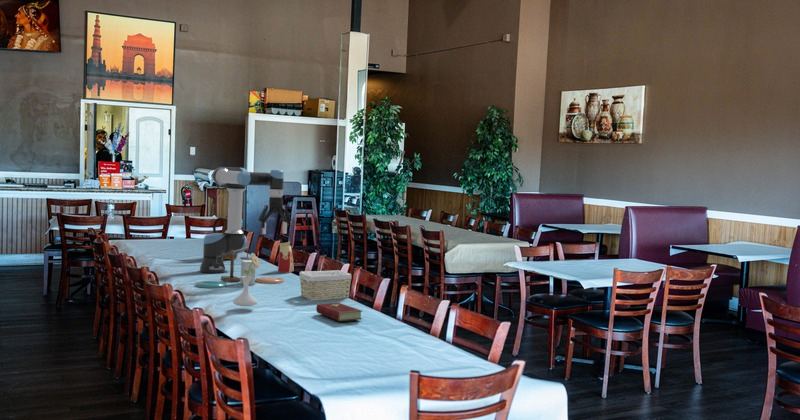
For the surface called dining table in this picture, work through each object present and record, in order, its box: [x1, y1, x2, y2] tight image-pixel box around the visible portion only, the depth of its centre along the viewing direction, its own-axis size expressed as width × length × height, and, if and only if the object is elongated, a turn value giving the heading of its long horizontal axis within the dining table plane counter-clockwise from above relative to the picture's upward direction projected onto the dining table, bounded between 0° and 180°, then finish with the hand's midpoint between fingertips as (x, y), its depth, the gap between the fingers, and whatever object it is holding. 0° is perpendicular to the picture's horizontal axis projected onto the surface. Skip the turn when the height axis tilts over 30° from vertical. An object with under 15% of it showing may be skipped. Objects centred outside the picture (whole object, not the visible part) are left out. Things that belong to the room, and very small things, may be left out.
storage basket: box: [299, 269, 352, 301], centre depth 377 cm, size 24×16×15 cm
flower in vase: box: [232, 252, 261, 307], centre depth 340 cm, size 13×11×25 cm
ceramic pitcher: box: [212, 216, 239, 261], centre depth 496 cm, size 20×20×30 cm
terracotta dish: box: [255, 276, 285, 285], centre depth 415 cm, size 16×16×1 cm
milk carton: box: [277, 241, 295, 274], centre depth 451 cm, size 9×9×20 cm
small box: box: [240, 259, 256, 286], centre depth 402 cm, size 8×6×13 cm
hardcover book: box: [315, 302, 363, 322], centre depth 329 cm, size 12×21×4 cm, turn 35°
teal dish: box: [195, 280, 227, 289], centre depth 390 cm, size 16×16×1 cm
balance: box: [209, 246, 251, 283], centre depth 411 cm, size 12×27×19 cm, turn 131°
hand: (274, 233), depth 413 cm, fingers open, 13 cm apart
